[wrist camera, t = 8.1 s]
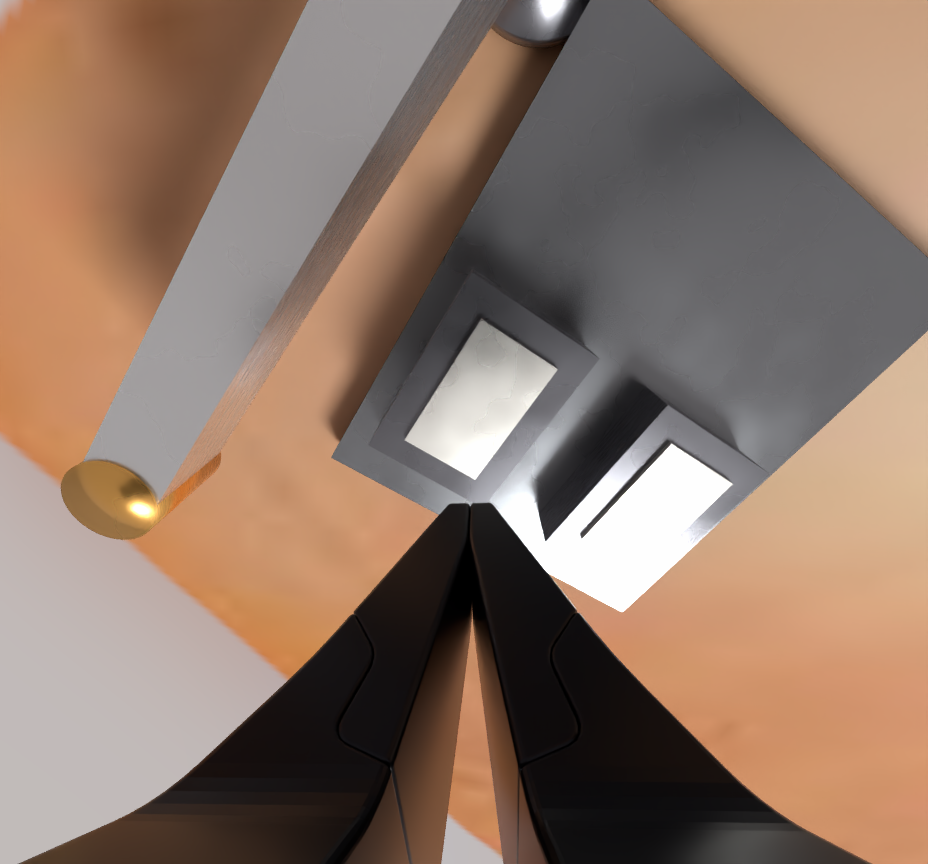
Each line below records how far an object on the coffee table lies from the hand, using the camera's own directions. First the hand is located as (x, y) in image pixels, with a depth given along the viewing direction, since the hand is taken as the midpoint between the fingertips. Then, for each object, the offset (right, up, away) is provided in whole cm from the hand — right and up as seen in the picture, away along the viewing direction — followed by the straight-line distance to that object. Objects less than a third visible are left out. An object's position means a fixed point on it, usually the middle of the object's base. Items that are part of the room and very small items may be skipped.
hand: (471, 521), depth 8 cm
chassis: (+6, +4, +9) cm, 11 cm away
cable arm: (-5, +7, +3) cm, 9 cm away
